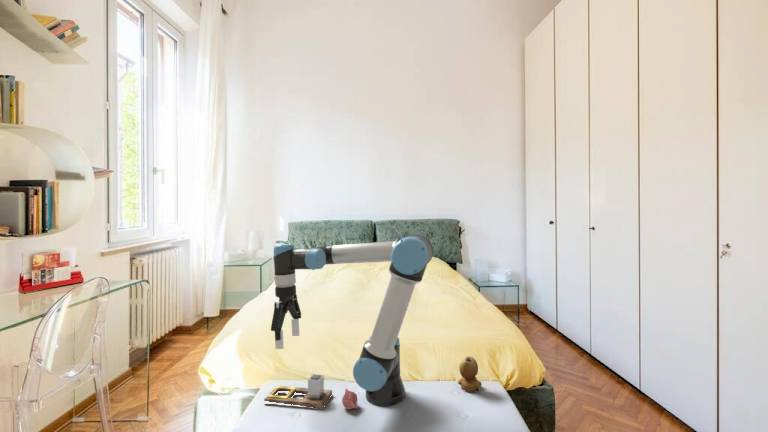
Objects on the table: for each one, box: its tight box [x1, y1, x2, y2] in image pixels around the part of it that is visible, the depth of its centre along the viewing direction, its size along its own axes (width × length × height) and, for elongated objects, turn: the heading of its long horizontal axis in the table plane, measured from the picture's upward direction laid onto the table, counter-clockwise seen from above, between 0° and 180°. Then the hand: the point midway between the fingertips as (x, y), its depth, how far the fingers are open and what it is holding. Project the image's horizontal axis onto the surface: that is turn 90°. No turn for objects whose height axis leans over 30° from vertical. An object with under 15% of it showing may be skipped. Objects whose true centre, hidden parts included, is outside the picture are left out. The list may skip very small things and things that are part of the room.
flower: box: [341, 388, 359, 410], centre depth 127 cm, size 8×8×6 cm
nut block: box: [307, 373, 325, 400], centre depth 132 cm, size 4×4×9 cm
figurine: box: [457, 356, 482, 393], centre depth 138 cm, size 10×8×15 cm
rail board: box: [263, 385, 333, 410], centre depth 133 cm, size 23×10×2 cm, turn 79°
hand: (288, 341), depth 131 cm, fingers open, 13 cm apart
